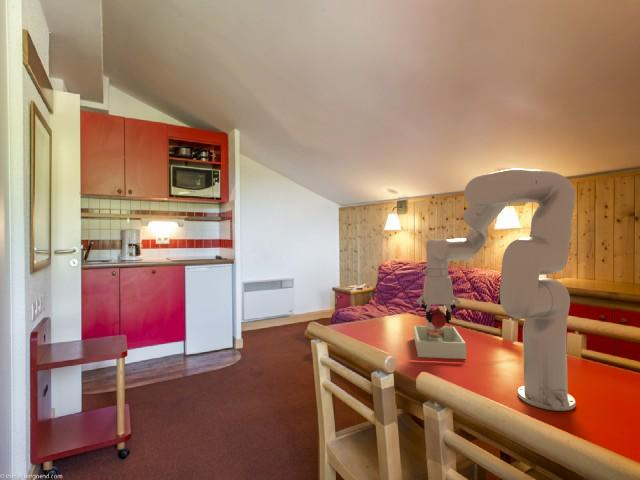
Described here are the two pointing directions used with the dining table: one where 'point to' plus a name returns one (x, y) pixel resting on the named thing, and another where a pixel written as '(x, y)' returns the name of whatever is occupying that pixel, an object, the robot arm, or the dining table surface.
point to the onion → (438, 318)
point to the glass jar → (434, 333)
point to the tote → (440, 344)
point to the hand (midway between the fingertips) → (438, 321)
